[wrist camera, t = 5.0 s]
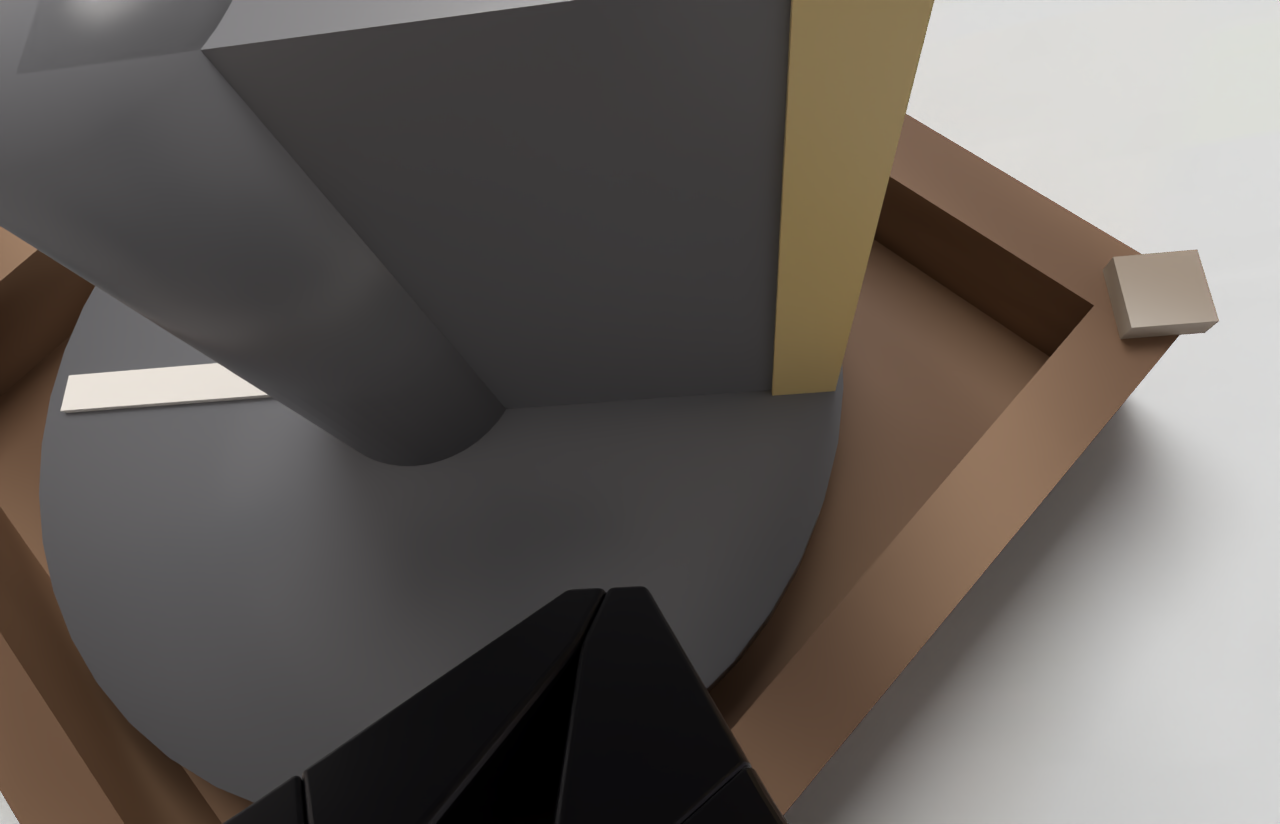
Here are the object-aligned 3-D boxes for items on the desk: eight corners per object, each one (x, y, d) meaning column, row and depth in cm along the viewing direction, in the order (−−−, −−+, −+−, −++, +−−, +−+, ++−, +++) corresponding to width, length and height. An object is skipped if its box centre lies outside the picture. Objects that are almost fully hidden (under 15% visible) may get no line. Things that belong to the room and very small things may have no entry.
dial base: (455, 1202, 13) (331, 1407, 9) (-52, 463, 19) (-250, 405, 15) (1135, 379, 15) (1251, 281, 12) (507, -31, 21) (456, -180, 18)
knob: (26, 817, 14) (-1316, 1028, 5) (172, 132, 19) (-359, -387, 10) (884, 807, 12) (1248, 1103, 3) (796, 57, 17) (840, -653, 8)
